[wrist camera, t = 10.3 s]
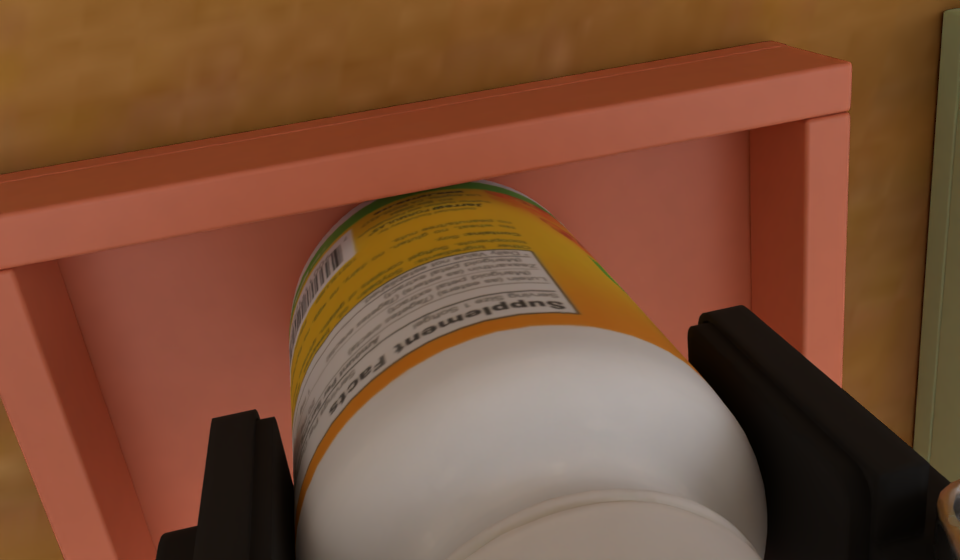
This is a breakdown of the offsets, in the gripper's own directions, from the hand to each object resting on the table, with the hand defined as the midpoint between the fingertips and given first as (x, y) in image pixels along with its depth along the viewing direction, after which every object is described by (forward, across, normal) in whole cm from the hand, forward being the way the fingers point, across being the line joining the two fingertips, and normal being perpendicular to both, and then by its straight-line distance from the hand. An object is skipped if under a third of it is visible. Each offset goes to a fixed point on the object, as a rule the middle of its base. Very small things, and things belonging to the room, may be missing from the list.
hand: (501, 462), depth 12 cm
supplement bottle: (+5, 0, 0) cm, 5 cm away
